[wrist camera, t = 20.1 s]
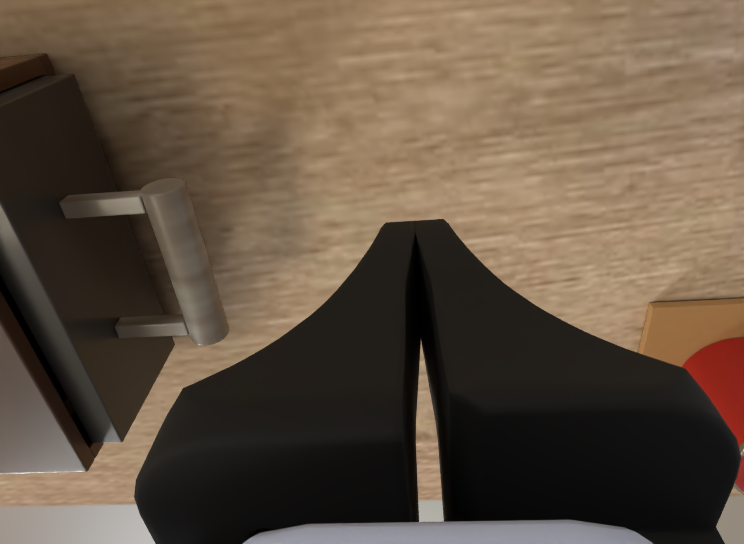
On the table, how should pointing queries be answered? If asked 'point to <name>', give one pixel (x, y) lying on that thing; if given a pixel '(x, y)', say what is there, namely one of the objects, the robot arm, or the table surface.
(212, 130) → the table surface
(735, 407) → the tin
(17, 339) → the cabinet
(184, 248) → the drawer
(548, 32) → the table surface
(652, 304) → the trivet
